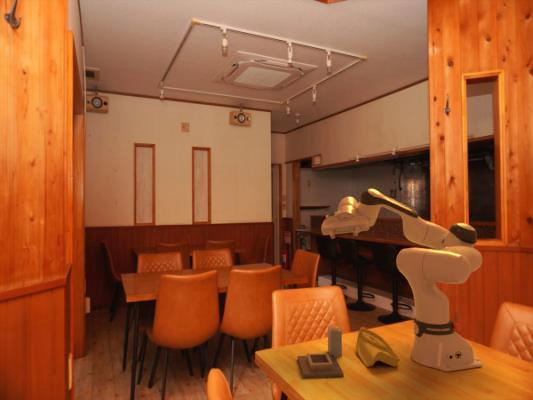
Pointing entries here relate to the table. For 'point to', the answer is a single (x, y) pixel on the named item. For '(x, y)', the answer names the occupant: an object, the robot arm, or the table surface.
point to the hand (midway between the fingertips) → (343, 235)
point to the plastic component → (375, 349)
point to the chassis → (319, 366)
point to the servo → (335, 341)
